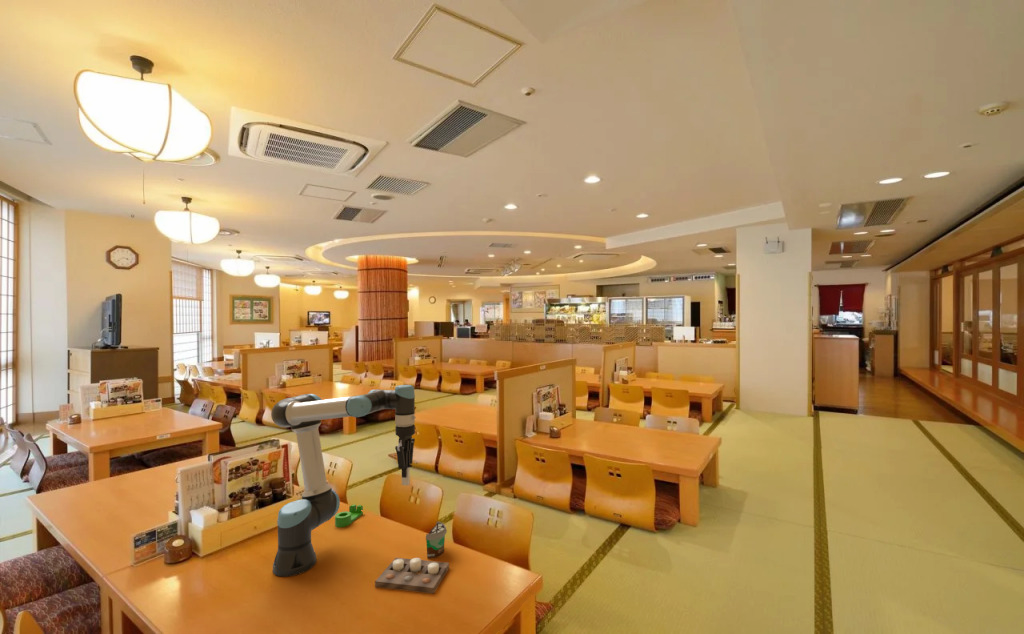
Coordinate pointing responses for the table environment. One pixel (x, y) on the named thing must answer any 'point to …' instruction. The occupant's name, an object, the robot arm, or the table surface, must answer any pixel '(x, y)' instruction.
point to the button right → (433, 568)
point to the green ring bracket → (348, 516)
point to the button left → (398, 565)
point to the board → (412, 577)
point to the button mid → (415, 565)
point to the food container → (436, 540)
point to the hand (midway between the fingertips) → (405, 484)
